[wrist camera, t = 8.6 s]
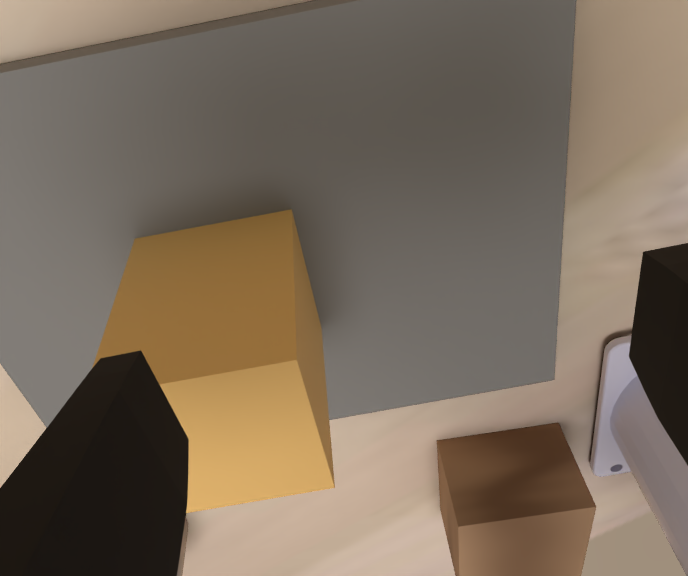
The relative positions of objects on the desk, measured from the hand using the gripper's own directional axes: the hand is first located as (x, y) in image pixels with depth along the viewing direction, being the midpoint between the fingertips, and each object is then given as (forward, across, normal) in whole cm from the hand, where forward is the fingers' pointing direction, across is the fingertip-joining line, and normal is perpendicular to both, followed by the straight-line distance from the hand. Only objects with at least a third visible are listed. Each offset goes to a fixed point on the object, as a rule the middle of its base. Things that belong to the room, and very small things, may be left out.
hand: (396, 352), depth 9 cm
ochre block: (+9, +4, +4) cm, 11 cm away
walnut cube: (+10, -4, +17) cm, 20 cm away
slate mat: (+9, +3, +4) cm, 11 cm away
